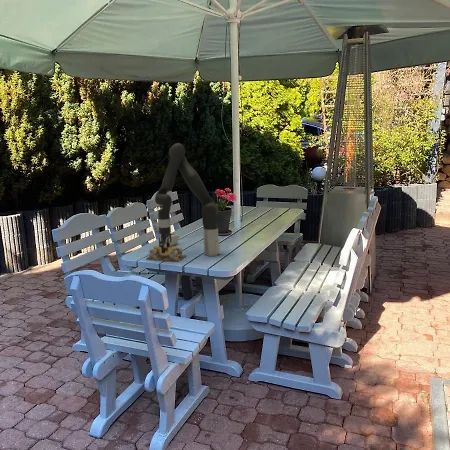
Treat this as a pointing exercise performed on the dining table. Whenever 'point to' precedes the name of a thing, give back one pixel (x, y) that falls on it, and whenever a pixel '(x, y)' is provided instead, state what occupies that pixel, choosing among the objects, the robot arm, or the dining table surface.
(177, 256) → the chain bed
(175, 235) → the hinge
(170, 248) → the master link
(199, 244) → the dining table surface
